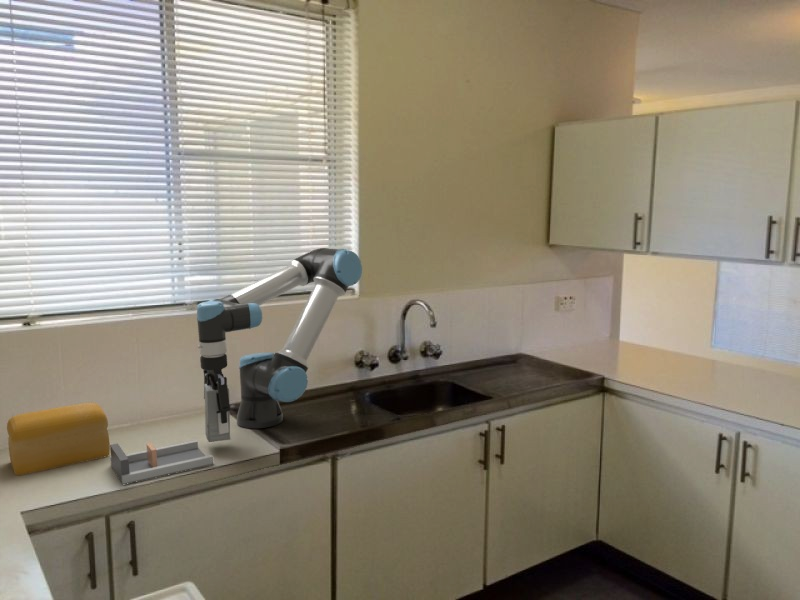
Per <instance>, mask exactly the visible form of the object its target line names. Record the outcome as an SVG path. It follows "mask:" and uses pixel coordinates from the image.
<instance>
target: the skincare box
mask: <svg viewBox="0 0 800 600" xmlns="http://www.w3.org/2000/svg"><path fill="white" fill-rule="evenodd" d="M204 386H205V399H204V415H205V416H204V418H205V419H204V422H205V423H204V424H205V426H204V427H205V428H204V429H205V430H204V431H205V433H204V434H205V436H206V440H207V442H208V443H214V442H222V441H223V442H224V441H229V440H231V426H230V425H231V424H230V423H231V421H230V419H231V418H230V417H231V416H230V413H231V412H230V411H228V426H229V432H228V433H224V434H219V426H218V414H217V413H216V412H217V411H219V410H218V405H217V398H216V393H218V390H213V389H212V385H207V384H204V383H203V387H204ZM228 386H229V385H228V384H227V389H228V397H229V398H230V389H229V387H228ZM224 408H225V407H224Z"/></svg>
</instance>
